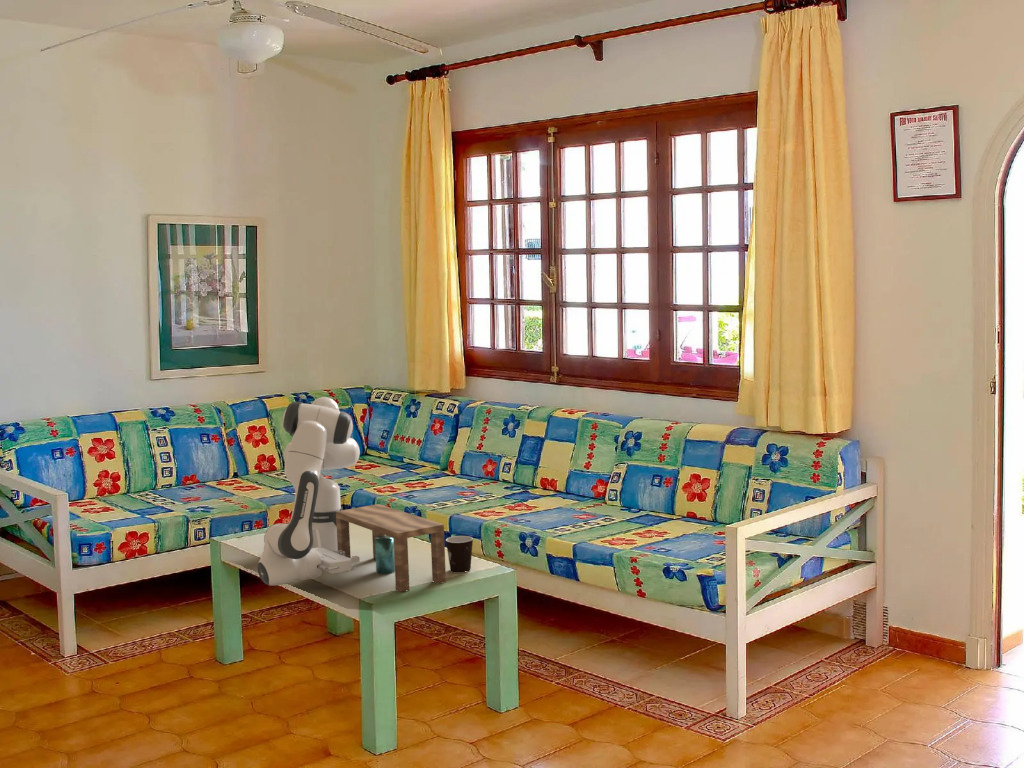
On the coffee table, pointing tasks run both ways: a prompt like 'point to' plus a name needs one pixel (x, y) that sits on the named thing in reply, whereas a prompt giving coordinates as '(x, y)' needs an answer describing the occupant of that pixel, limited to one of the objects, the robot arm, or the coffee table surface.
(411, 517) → the low shelf
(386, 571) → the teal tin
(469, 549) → the coffee mug
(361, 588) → the coffee table surface
